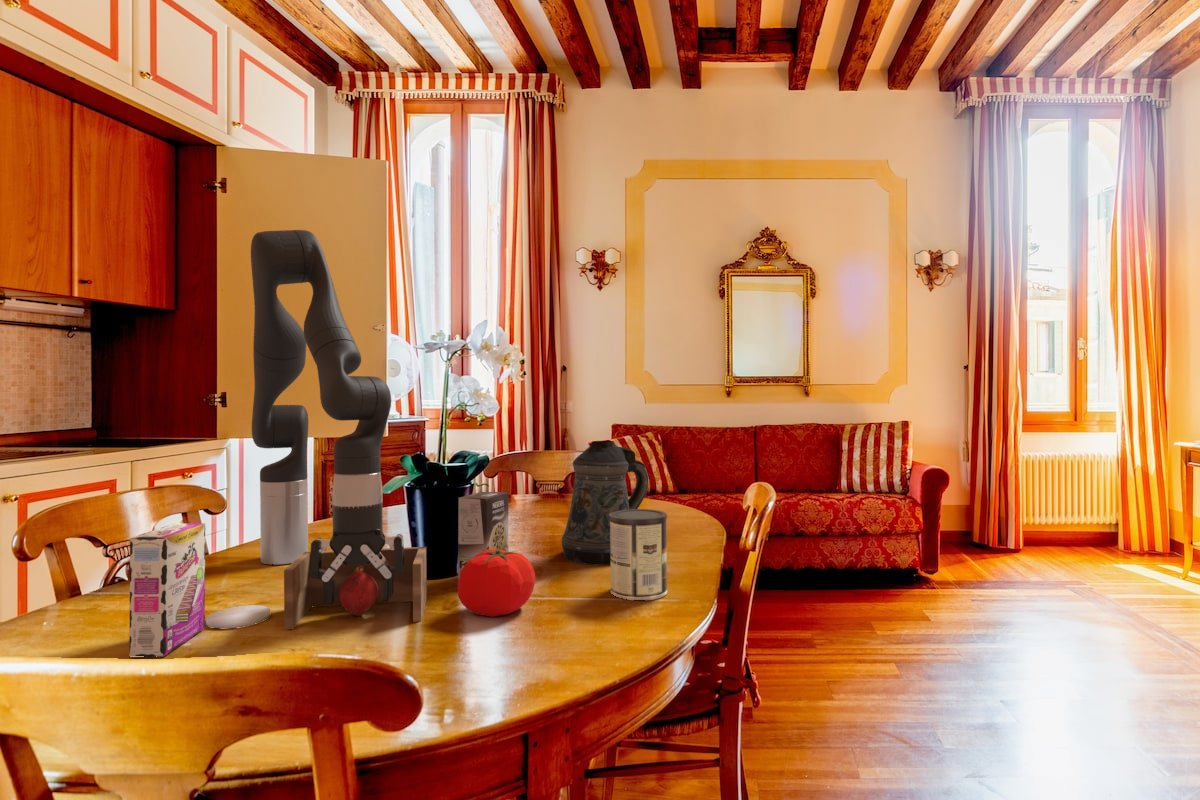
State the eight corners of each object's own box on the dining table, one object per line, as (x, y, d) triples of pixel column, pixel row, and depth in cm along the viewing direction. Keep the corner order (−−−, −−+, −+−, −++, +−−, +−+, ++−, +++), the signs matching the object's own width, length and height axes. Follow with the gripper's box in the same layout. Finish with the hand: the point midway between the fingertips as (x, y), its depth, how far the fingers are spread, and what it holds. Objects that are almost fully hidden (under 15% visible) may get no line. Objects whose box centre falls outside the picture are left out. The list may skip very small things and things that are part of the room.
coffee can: (634, 580, 127) (634, 506, 127) (678, 591, 120) (678, 513, 120) (597, 592, 120) (597, 514, 120) (642, 605, 113) (642, 521, 113)
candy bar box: (166, 658, 91) (165, 537, 91) (127, 659, 90) (126, 538, 90) (208, 629, 102) (206, 521, 102) (173, 630, 102) (172, 522, 101)
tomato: (452, 606, 112) (451, 545, 112) (525, 597, 117) (525, 538, 117) (466, 628, 102) (466, 560, 102) (546, 617, 107) (545, 552, 107)
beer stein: (546, 558, 145) (545, 442, 145) (597, 541, 161) (597, 437, 161) (609, 569, 136) (609, 445, 135) (657, 550, 152) (657, 439, 151)
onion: (365, 623, 104) (365, 572, 104) (332, 621, 105) (331, 570, 105) (384, 611, 110) (384, 562, 110) (352, 609, 111) (352, 561, 111)
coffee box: (487, 585, 125) (486, 498, 124) (457, 582, 127) (456, 496, 127) (510, 573, 133) (509, 491, 133) (481, 570, 135) (481, 490, 135)
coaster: (218, 611, 110) (218, 607, 110) (277, 608, 112) (277, 603, 112) (196, 631, 101) (196, 625, 101) (260, 627, 103) (260, 621, 103)
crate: (304, 605, 113) (304, 552, 113) (426, 598, 117) (426, 546, 117) (284, 629, 101) (283, 570, 101) (421, 621, 105) (420, 564, 105)
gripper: (406, 495, 112) (407, 592, 112) (316, 498, 110) (317, 597, 110) (401, 503, 105) (402, 606, 105) (304, 506, 102) (305, 612, 103)
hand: (358, 602), depth 108 cm, fingers open, 8 cm apart
